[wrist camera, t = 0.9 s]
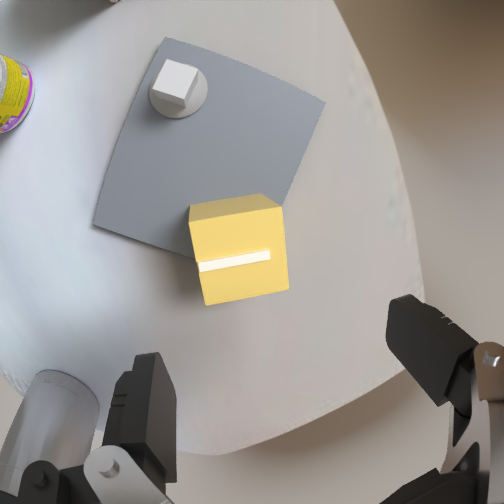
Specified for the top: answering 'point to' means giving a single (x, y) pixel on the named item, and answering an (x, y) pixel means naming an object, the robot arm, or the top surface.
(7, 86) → the supplement bottle
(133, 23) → the top surface
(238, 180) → the plate
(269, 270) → the yellow cube
